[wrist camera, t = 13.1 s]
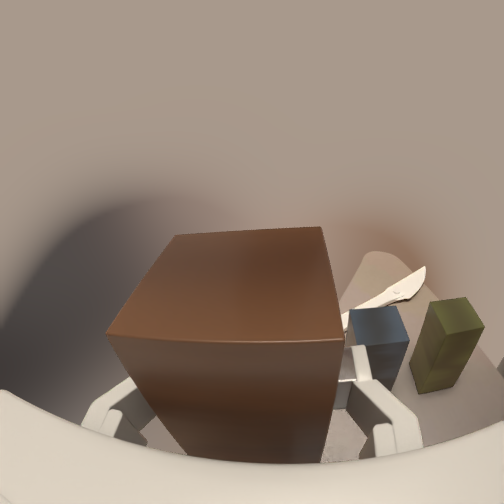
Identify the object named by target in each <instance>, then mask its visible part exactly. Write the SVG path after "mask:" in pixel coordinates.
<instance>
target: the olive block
mask: <svg viewBox="0 0 504 504" xmlns="http://www.w3.org/2000/svg"><path fill="white" fill-rule="evenodd" d="M484 328H485V326H484V325H483V323H482V321H481V320H480V318H479V317H478V315H477V313H476V312H475V310H474V309H473V307H472V306H471V304H470V303H469V301H468V300H467V298H466V297H463V298H456V299H449V300H441V301H433V302H430V303H429V307H428V310H427V313H426V317H425V320H424V323H423V326H422V329H421V332H420V335H419V338H418V341H417V344H416V347H415V349H414V352H413V355H412V357H411V360H410V362H409V364H410V367H411V370H412V374H413V377H414V380H415V384H416V387H417V391H418V394H423V393H427V392H432V391H437V390H441V389H445V388H449V387H453V386H454V384H455V382H456V381H457V379H458V377H459V376H460V374H461V372H462V371H463V369H464V367H465V365H466V363H467V362H468V360H469V358H470V356H471V354H472V352H473V350H474V348H475V346H476V344H477V342H478V340H479V338H480V336H481V334H482V332H483V330H484Z"/></svg>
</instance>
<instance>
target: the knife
mask: <svg viewBox="0 0 504 504" xmlns="http://www.w3.org/2000/svg"><path fill="white" fill-rule="evenodd" d="M425 274H426V268H425V266H424V267H422V268H421V269H419V270H417V271H416V272H414V273H412V274H411V275H409V276H407V277H406V278H404V279H402V280H401V281H399V282H397V283H395V284H394V285H392V286H390V287H389V288H387V289H386V290H385V292H383V293H381V294H379V295H378V296H376V297H374V298H372V299H371V300H369V301H367V302H365V303H363V304H361V305H360V306H358V307H356V308H354V309H363V308H375V307H384V306H386V305H388V304H390V303H393V302H395V301H398V300H403V299H405V298H406V299H409V298H411V297H412V296H413V295H414V294H415V293H416V292H417V291H418V290H419V289H420V287H421V286H422V284H423V281H424V279H425ZM348 317H349V311H348V312H346V313H344V314H342V315H341V319H342V324H343V330H344V332H345V331H346V330H347V326H348Z"/></svg>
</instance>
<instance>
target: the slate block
mask: <svg viewBox="0 0 504 504" xmlns="http://www.w3.org/2000/svg"><path fill="white" fill-rule="evenodd" d="M409 341H410V340H409V337H408V335H407V332H406V329H405V327H404V324H403V322H402V319H401V317H400V314H399V312H398V309H397V307H396V306H386V307H375V308H363V309H350V310H349V317H348V326H347V334H346V341H345V346H356V345H364V346H365V347H366V351H367V356H368V360H369V365H370V370H371V374H372V379H373V380H374V379H377V380H378V381H379V382H380V383H381V384H382V385H383V386H384V387H385V388H386V389H388V390H389V391H390V392H391V389H392V387H393V385H394V382H395V380H396V377H397V375H398V372H399V369H400V367H401V364H402V361H403V359H404V356H405V353H406V350H407V347H408V344H409Z"/></svg>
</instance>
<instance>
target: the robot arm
mask: <svg viewBox="0 0 504 504" xmlns="http://www.w3.org/2000/svg"><path fill="white" fill-rule="evenodd" d="M336 409H346V411H347V412H348V413H349V415H350V416H351V417H352V418H353V420H354V421H355V422H356V424H357V425H358V426H359V427H360V429H361V430H362V431H363V432H364V434H365V435H366V436H367V437H368V439H367V441H366V442H365V444H364V446H363V448H362V450H361V451H360V453H359V460H351V461H341V462H328V463H310V464H266V463H247V462H235V461H225V460H216V459H208V458H201V457H195V456H189V455H183V454H177V453H173V452H167V451H163V450H158V449H154V448H150V447H146V445H147V440H146V439H145V438H144V436H143V435H142V434H141V433H140V432H139V431H140V430H142V429H143V428H144V427H145V426H146V425H147V424H148V423H149V422H150V421H151V420H152V419H153V418H154V417H155V416H156V414H155V413H154V411H153V410H152V408H151V407H150V406H149V404H148V403H147V401H146V400H145V398H144V397H143V395H142V394H141V392H140V391H139V389H138V388H137V386H136V385H135V383H134V382H133V380H132V379H131V377H128V378H127V379H126V380H124V381H123V382H121V383H120V384H118V385H117V386H115V387H114V388H113V389H111V390H110V391H108V392H107V393H105V394H104V395H102V396H101V397H99V398H98V399H96V400H95V401H93V402H92V404H91V406H90V408H89V410H88V412H87V414H86V416H85V418H84V420H83V422H82V424H81V426H79V425H77V424H74V423H72V422H69V421H67V420H64V419H62V418H60V417H57V416H55V415H53V414H51V413H49V412H46V411H44V410H42V409H40V408H38V407H36V406H34V405H32V404H30V403H28V402H26V401H24V400H22V399H21V398H18V397H17V396H15V395H13V394H12V393H10V392H8V391H6V390H0V504H504V420H502V421H500V422H498V423H495V424H493V425H491V426H488V427H486V428H483V429H480V430H478V431H475V432H472V433H470V434H467V435H464V436H461V437H458V438H455V439H452V440H449V441H445V442H442V443H438V444H435V445H431V446H427V447H424V445H423V440H422V435H421V430H420V426H419V422H418V417H417V416H416V415H415V414H414V413H413V412H412V411H411V410H409V409H408V408H407V407H406V406H405V405H404V404H403V403H402V402H401V401H400V400H399V399H397V398H396V397H395V396H394V395H393V394H392V393H391V392H390V391H389V390H388V389H386V388H385V387H384V386H383V385H382V384H381V383H380V382H379V381H378V380H377V379H374V380H373V379H372V374H371V370H370V365H369V360H368V356H367V351H366V347H365V346H364V345H356V346H344V352H343V358H342V364H341V370H340V376H339V381H338V387H337V392H336V397H335V402H334V407H333V410H336Z"/></svg>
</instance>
